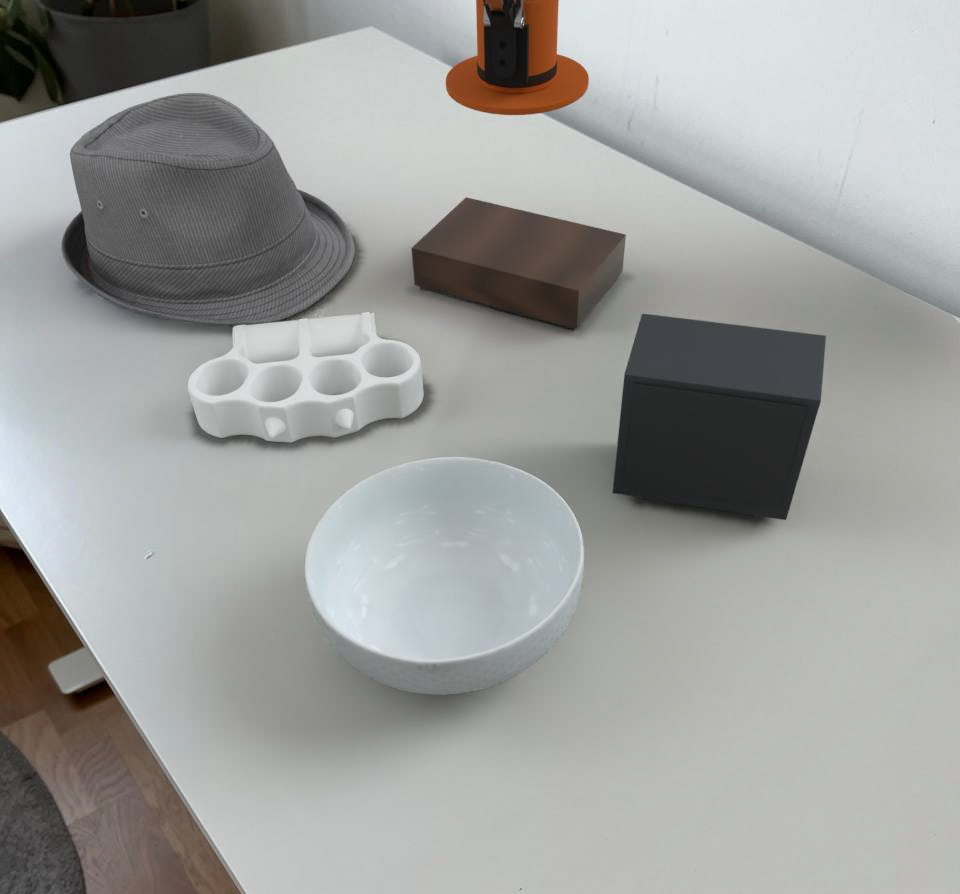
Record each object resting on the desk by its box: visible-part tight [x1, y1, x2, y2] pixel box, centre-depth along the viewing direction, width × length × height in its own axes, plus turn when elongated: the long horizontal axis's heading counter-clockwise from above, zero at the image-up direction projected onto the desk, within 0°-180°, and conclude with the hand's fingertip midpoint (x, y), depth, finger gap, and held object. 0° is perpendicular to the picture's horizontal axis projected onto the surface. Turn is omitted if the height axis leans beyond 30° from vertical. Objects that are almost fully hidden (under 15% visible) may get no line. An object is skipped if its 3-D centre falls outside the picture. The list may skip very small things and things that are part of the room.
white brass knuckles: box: [187, 311, 425, 444], centre depth 78 cm, size 3×18×15 cm
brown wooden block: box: [411, 196, 627, 330], centre depth 87 cm, size 16×10×4 cm, turn 62°
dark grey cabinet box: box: [612, 313, 827, 521], centre depth 67 cm, size 7×12×11 cm, turn 75°
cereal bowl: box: [303, 456, 585, 696], centre depth 61 cm, size 17×17×7 cm
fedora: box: [60, 92, 356, 327], centre depth 88 cm, size 24×27×12 cm
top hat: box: [445, 0, 590, 116], centre depth 73 cm, size 11×11×6 cm
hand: (517, 63), depth 75 cm, fingers closed on top hat, 6 cm apart
